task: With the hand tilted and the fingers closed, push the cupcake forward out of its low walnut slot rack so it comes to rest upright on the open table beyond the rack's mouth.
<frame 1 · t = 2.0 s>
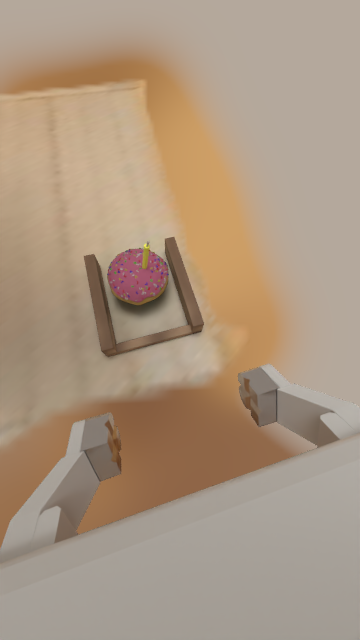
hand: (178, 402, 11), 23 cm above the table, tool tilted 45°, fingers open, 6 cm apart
rack: (143, 298, 38), on the table
cupcake: (141, 291, 39), on the table
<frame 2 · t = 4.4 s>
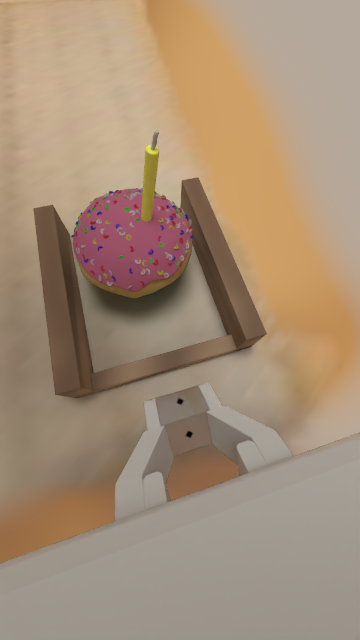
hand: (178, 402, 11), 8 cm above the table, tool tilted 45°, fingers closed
rack: (144, 288, 21), on the table
cupcake: (141, 275, 22), on the table
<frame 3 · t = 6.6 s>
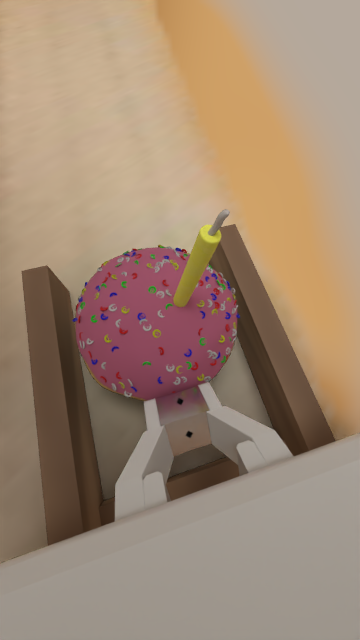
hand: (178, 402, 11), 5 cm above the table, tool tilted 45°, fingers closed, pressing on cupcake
rack: (166, 367, 17), on the table
cupcake: (160, 343, 17), on the table, touching gripper
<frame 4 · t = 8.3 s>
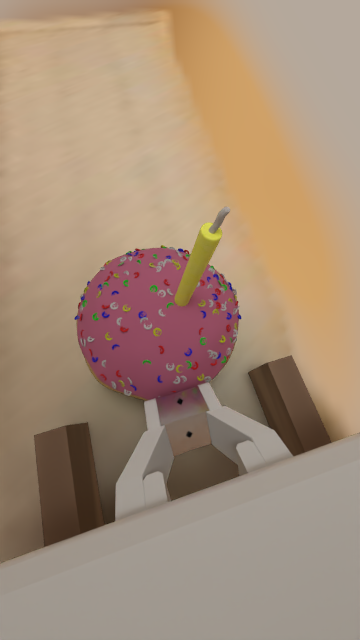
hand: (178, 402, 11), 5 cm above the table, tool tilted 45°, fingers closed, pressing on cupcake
rack: (209, 529, 14), on the table
cupcake: (161, 343, 17), on the table, touching gripper
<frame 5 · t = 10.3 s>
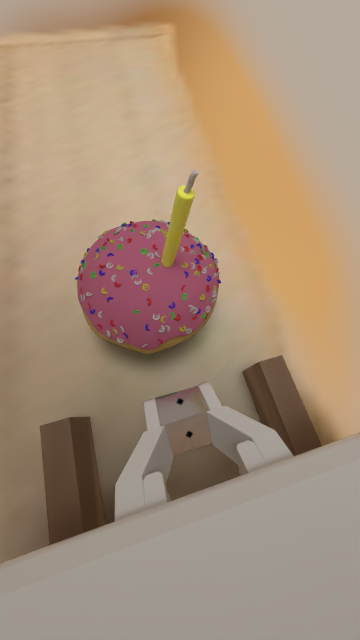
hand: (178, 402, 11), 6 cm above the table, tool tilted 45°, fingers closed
rack: (202, 519, 15), on the table
cupcake: (153, 312, 19), on the table
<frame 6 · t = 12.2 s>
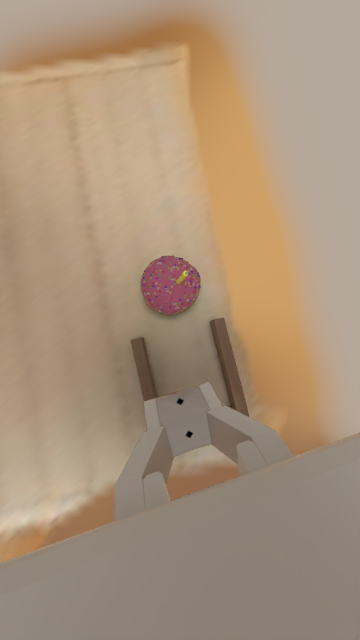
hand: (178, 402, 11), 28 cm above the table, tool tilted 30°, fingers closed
rack: (188, 375, 39), on the table
cupcake: (170, 292, 40), on the table
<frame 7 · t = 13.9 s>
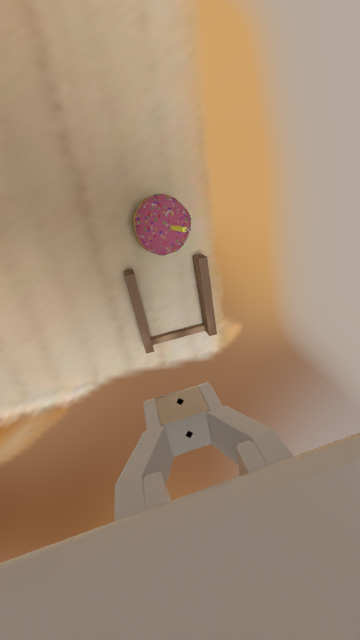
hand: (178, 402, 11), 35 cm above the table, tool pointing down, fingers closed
rack: (171, 301, 47), on the table
cupcake: (157, 224, 41), on the table
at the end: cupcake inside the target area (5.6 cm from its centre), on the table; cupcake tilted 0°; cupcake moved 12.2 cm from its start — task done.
